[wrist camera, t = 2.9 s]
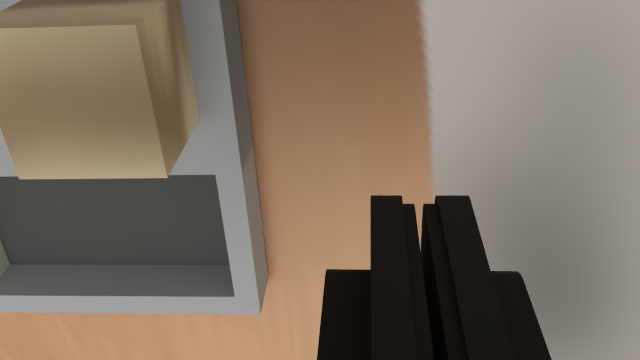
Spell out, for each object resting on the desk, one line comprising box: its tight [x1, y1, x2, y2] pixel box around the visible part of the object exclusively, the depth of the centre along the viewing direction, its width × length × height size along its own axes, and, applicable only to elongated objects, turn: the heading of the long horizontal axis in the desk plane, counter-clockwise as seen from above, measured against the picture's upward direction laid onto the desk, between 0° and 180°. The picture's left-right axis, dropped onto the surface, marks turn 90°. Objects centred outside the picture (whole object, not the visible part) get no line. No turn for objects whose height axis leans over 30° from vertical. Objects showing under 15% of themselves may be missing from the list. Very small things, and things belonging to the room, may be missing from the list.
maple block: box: [0, 0, 199, 179], centre depth 18 cm, size 4×4×4 cm
